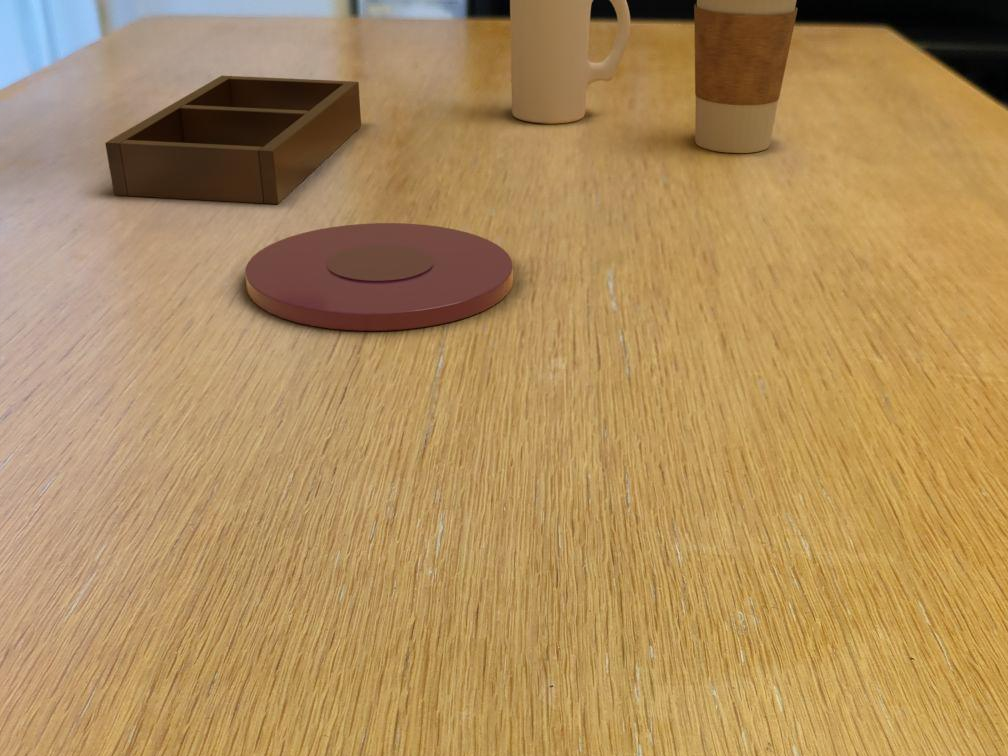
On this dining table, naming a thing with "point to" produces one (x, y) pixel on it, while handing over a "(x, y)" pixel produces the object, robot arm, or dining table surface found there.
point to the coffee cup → (739, 71)
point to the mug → (557, 57)
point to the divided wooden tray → (235, 140)
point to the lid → (379, 276)
